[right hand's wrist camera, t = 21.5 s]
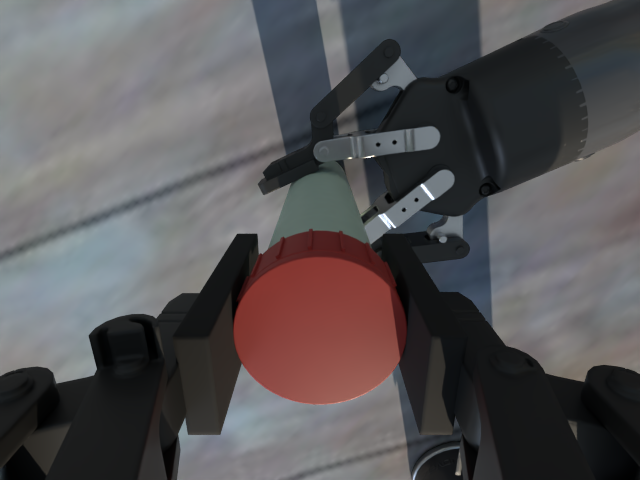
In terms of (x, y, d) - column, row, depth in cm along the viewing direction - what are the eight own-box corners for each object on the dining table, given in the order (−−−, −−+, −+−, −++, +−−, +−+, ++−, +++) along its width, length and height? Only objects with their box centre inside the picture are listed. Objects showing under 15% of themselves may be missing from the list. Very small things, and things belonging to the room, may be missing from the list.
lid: (226, 337, 12) (209, 380, 11) (270, 204, 11) (259, 226, 9) (360, 377, 13) (368, 424, 11) (420, 256, 11) (440, 288, 10)
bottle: (309, 218, 30) (293, 393, 12) (283, 172, 29) (220, 291, 11) (356, 194, 29) (414, 341, 11) (331, 146, 28) (352, 224, 10)
